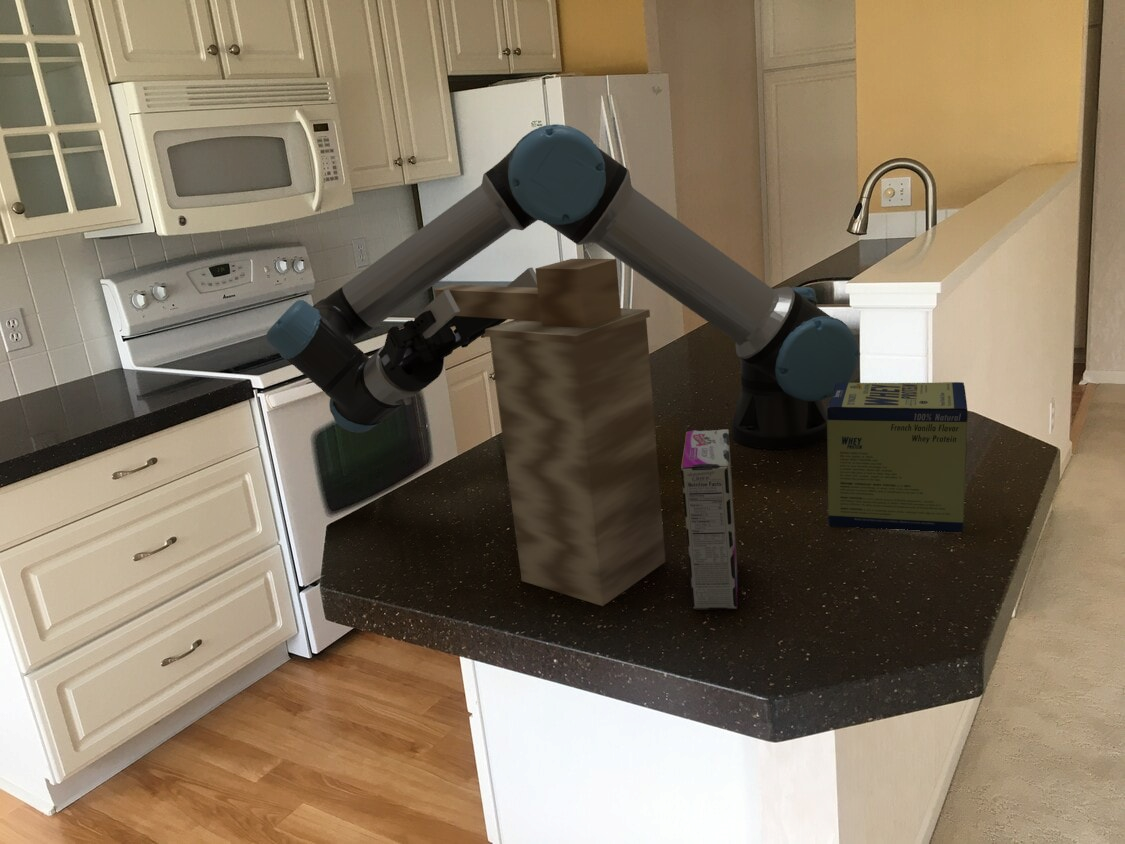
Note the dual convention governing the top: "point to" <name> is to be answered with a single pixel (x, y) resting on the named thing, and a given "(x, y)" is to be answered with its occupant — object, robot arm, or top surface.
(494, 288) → the mallet
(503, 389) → the block
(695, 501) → the candy bar box
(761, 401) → the robot arm
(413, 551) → the top surface
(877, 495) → the protein box
